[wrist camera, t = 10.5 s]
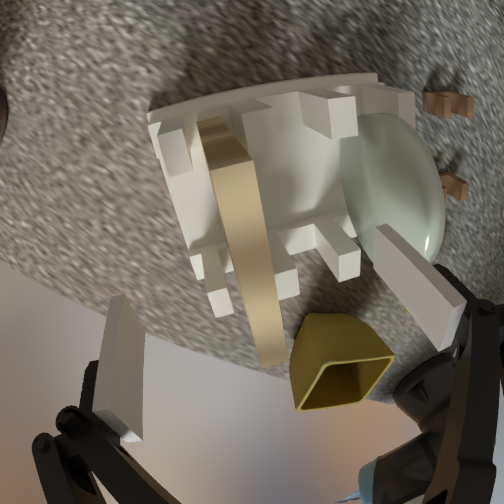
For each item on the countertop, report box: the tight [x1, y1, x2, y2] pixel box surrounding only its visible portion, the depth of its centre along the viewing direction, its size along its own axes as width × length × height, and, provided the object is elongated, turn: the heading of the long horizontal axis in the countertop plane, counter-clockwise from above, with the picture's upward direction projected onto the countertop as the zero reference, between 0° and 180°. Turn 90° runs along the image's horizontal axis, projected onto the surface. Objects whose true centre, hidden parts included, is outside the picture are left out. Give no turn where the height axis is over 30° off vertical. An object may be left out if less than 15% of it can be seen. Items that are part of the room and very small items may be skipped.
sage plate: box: [340, 113, 445, 264], centre depth 20 cm, size 11×1×11 cm, turn 10°
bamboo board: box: [196, 117, 289, 368], centre depth 19 cm, size 12×2×11 cm, turn 10°
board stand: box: [422, 91, 473, 203], centre depth 26 cm, size 11×4×3 cm, turn 10°
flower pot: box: [289, 313, 395, 412], centre depth 34 cm, size 9×9×9 cm
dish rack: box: [146, 72, 416, 318], centre depth 23 cm, size 15×18×7 cm
